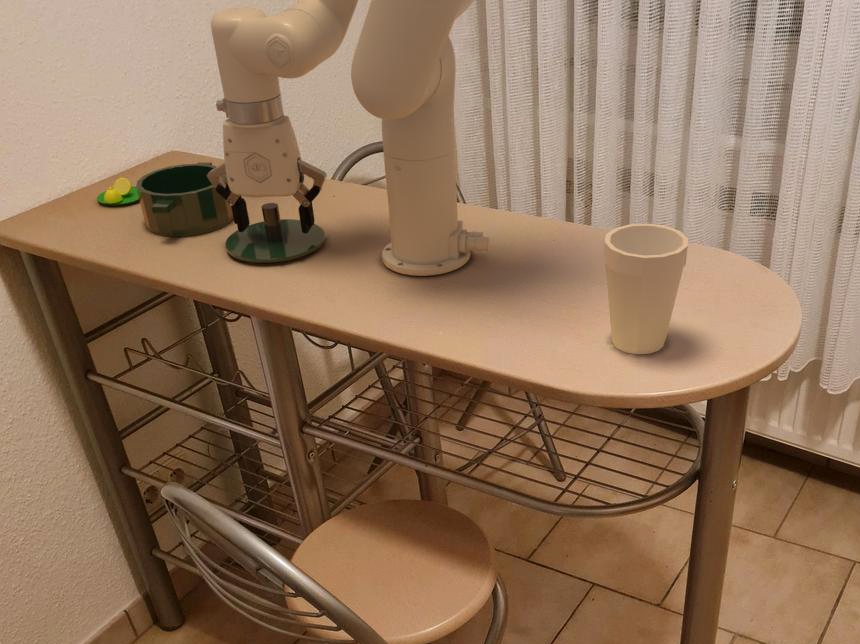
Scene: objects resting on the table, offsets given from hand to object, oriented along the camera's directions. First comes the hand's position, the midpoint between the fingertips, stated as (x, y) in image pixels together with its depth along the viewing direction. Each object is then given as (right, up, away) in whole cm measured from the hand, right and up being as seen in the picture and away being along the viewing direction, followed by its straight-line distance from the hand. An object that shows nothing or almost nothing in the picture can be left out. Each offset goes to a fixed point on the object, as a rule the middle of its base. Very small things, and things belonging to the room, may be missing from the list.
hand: (275, 229), depth 140 cm
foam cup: (+49, -20, -24) cm, 59 cm away
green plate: (-30, +10, +19) cm, 36 cm away
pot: (-16, +4, +11) cm, 19 cm away
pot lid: (0, -2, +1) cm, 2 cm away
